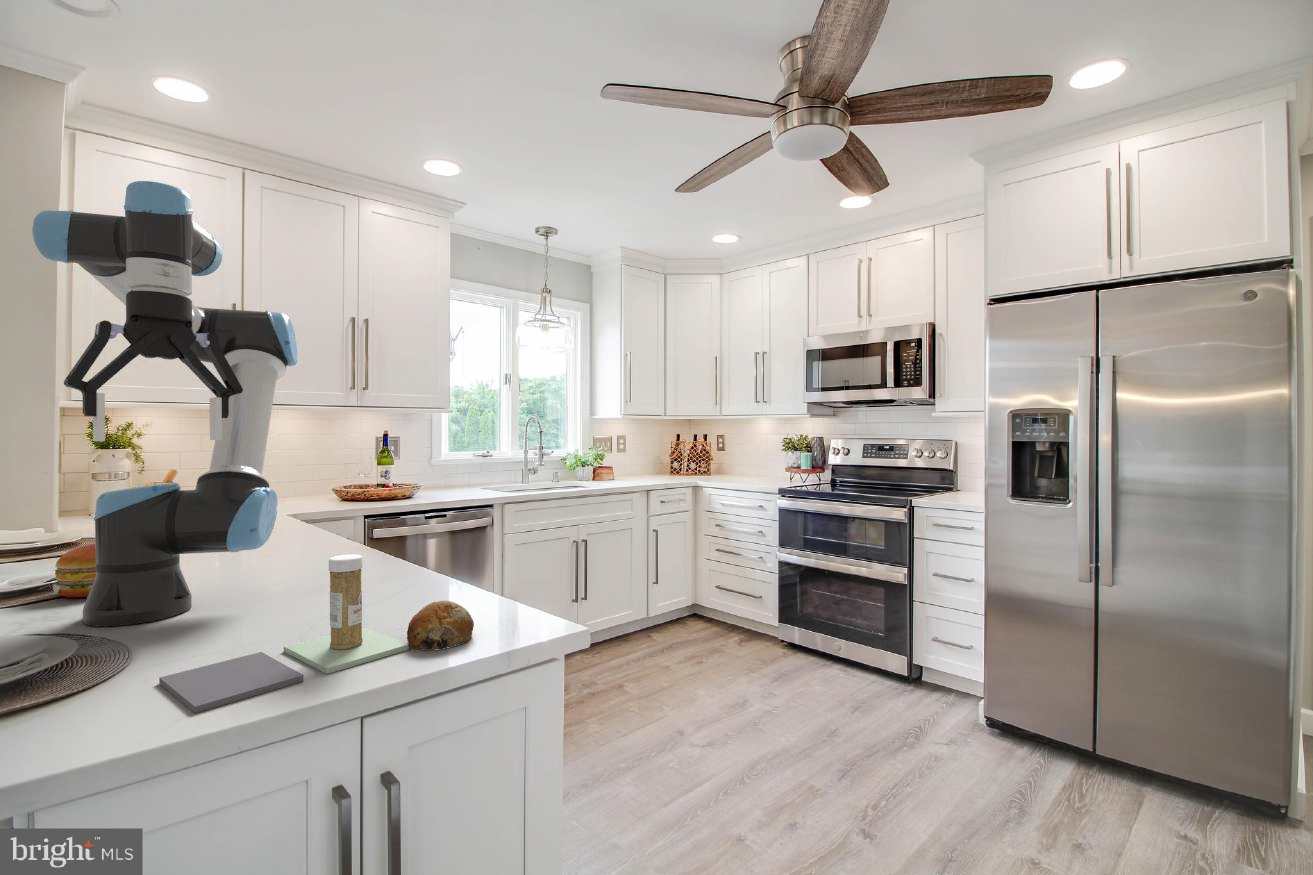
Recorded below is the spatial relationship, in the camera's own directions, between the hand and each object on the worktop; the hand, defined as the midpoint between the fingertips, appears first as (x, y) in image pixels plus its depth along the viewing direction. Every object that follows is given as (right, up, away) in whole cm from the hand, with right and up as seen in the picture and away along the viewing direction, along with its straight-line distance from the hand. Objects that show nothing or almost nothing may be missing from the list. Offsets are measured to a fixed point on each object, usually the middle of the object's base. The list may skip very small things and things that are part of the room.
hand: (160, 440), depth 90 cm
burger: (-42, -32, +37) cm, 65 cm away
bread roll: (+38, -32, +8) cm, 50 cm away
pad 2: (+25, -32, +4) cm, 41 cm away
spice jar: (+25, -31, +4) cm, 40 cm away
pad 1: (+16, -32, -8) cm, 37 cm away
